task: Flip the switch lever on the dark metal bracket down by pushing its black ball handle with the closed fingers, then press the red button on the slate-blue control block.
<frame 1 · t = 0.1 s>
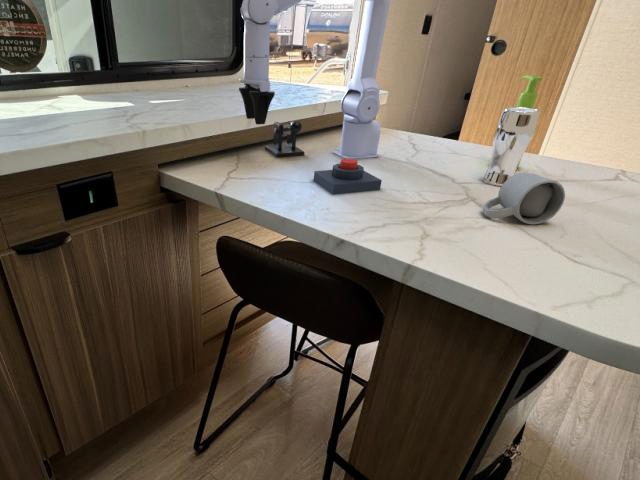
hand: (255, 121, 101), 10 cm above the table, tool pointing down, fingers open, 7 cm apart
soap dispenser: (502, 167, 104), on the table
control block: (345, 185, 91), on the table
ceramic mug: (513, 218, 76), on the table
switch lever: (290, 128, 109), point 7 cm above the table, hinge at 15.0°
switch bracket: (283, 152, 116), on the table
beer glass: (497, 182, 93), on the table
start button: (348, 164, 89), point 4 cm above the table, slide at 0.1 cm
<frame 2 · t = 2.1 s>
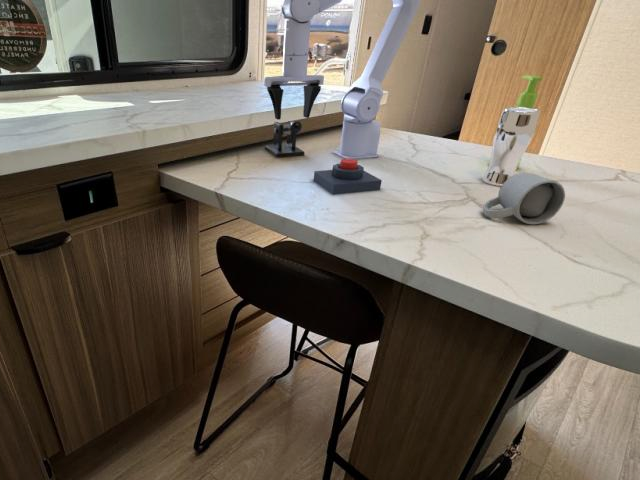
hand: (292, 118, 103), 10 cm above the table, tool pointing down, fingers open, 7 cm apart
nothing on the table moved.
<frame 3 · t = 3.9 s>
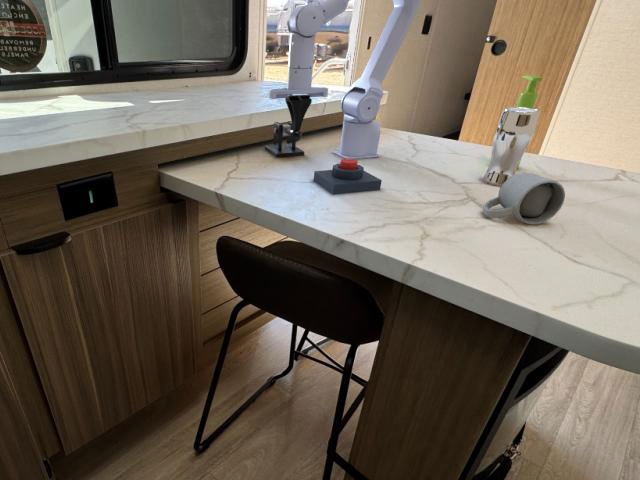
hand: (296, 129, 105), 8 cm above the table, tool pointing down, fingers closed, pressing on switch lever
switch lever: (290, 132, 109), point 6 cm above the table, hinge at 1.3°, touching gripper
everything else where it was.
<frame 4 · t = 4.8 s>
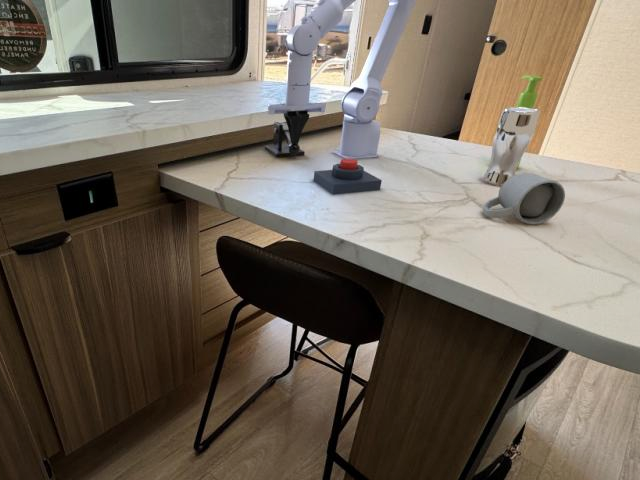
hand: (294, 143, 107), 4 cm above the table, tool pointing down, fingers closed
switch lever: (289, 139, 110), point 4 cm above the table, hinge at -24.6°
everything else where it was.
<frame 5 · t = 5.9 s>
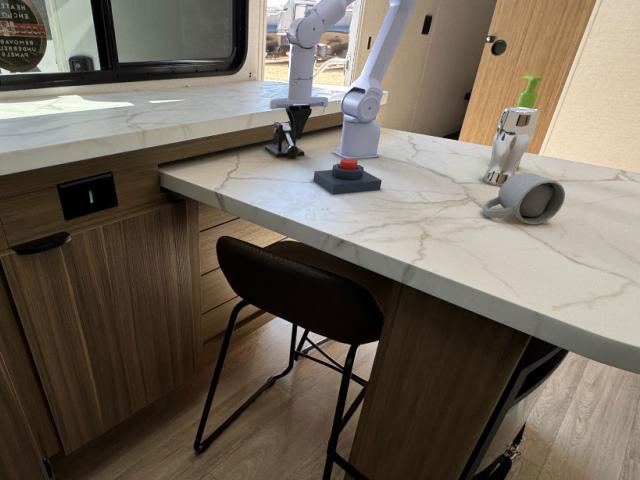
hand: (296, 138, 106), 6 cm above the table, tool pointing down, fingers closed
switch lever: (289, 140, 111), point 4 cm above the table, hinge at -30.8°
everything else where it was.
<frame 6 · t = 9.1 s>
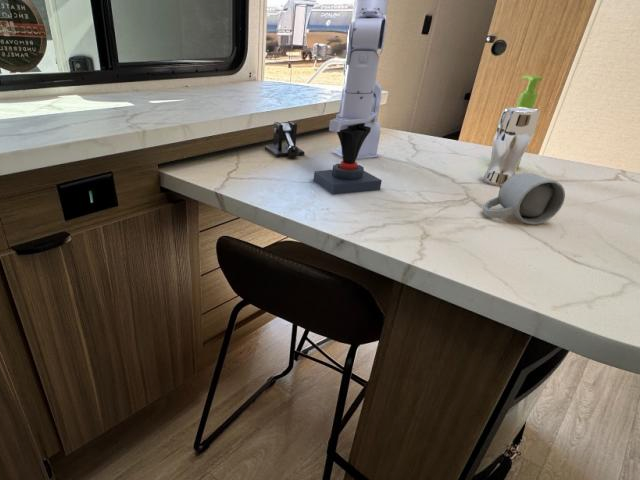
hand: (348, 162, 88), 5 cm above the table, tool pointing down, fingers closed, pressing on start button
start button: (348, 166, 89), point 4 cm above the table, slide at -0.3 cm, touching gripper
everything else where it was.
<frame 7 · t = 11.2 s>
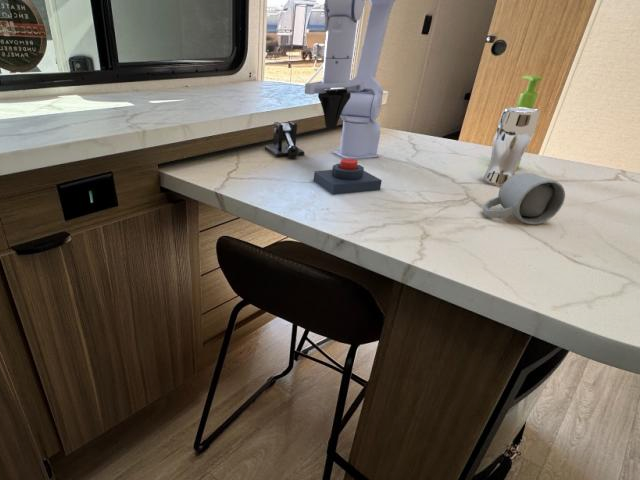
hand: (330, 127, 93), 10 cm above the table, tool pointing down, fingers closed
start button: (348, 164, 89), point 4 cm above the table, slide at 0.1 cm
everything else where it was.
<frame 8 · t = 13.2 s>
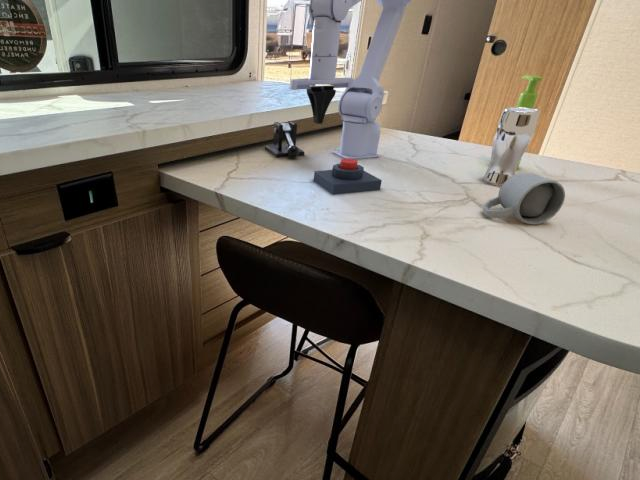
hand: (317, 123, 97), 10 cm above the table, tool pointing down, fingers closed
nothing on the table moved.
at the end: switch lever at -31° (first picture: +15°); start button pushed in 1.2 cm at the most during the clip, back to where it started at the end; start button slide at 0.1 cm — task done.
